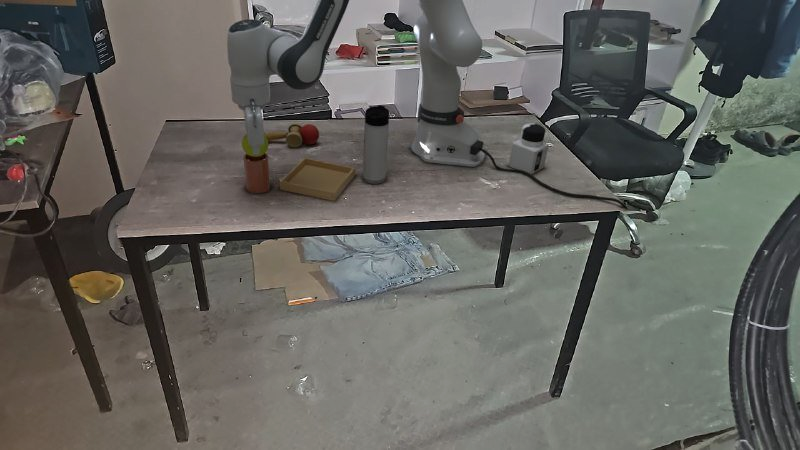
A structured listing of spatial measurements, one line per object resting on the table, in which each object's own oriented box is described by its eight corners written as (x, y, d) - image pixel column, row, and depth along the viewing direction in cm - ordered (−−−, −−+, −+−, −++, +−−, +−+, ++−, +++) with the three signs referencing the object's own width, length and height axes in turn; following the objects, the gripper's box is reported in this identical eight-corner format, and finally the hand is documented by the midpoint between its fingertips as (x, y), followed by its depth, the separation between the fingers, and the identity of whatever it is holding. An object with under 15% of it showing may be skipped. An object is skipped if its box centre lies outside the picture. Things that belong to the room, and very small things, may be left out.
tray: (355, 175, 155) (355, 167, 154) (334, 201, 143) (334, 192, 141) (304, 165, 158) (304, 157, 157) (279, 189, 146) (279, 181, 145)
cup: (274, 184, 148) (272, 153, 143) (263, 195, 143) (260, 163, 138) (253, 180, 149) (251, 149, 144) (242, 190, 144) (239, 159, 139)
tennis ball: (273, 152, 143) (272, 129, 139) (261, 163, 138) (259, 139, 134) (251, 148, 144) (248, 125, 141) (238, 158, 139) (235, 134, 135)
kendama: (258, 152, 166) (319, 146, 166) (254, 131, 163) (316, 125, 164) (262, 145, 173) (321, 139, 173) (259, 125, 171) (318, 119, 171)
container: (543, 167, 167) (553, 127, 160) (530, 175, 162) (539, 134, 155) (521, 158, 171) (530, 118, 164) (507, 166, 166) (515, 125, 159)
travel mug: (389, 175, 156) (393, 107, 145) (380, 186, 151) (384, 116, 140) (368, 171, 158) (370, 103, 147) (359, 181, 152) (361, 111, 142)
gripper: (268, 108, 125) (272, 164, 132) (261, 78, 141) (264, 129, 148) (239, 109, 123) (244, 166, 130) (234, 79, 139) (239, 131, 147)
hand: (255, 146), depth 140 cm, fingers closed on tennis ball, 6 cm apart
